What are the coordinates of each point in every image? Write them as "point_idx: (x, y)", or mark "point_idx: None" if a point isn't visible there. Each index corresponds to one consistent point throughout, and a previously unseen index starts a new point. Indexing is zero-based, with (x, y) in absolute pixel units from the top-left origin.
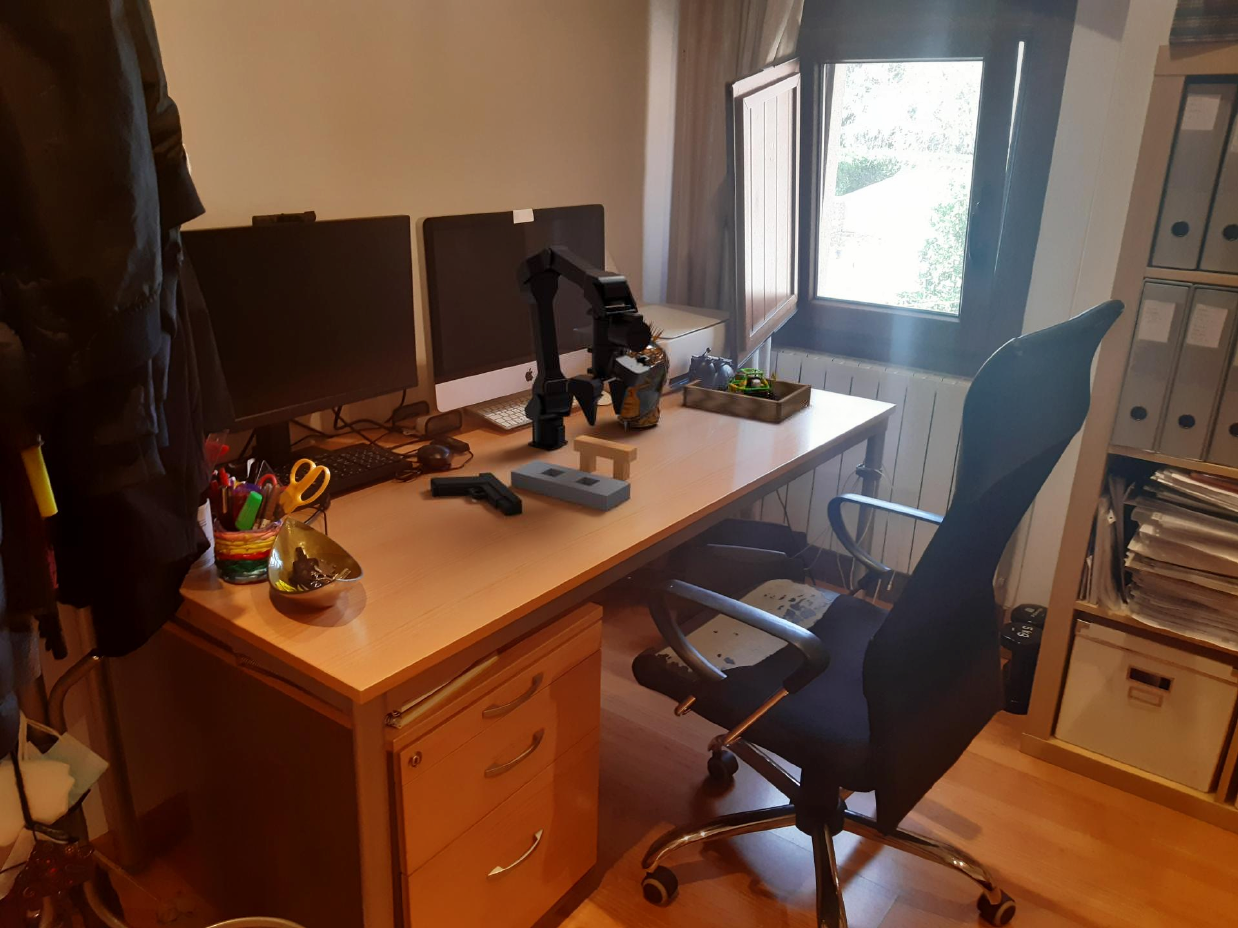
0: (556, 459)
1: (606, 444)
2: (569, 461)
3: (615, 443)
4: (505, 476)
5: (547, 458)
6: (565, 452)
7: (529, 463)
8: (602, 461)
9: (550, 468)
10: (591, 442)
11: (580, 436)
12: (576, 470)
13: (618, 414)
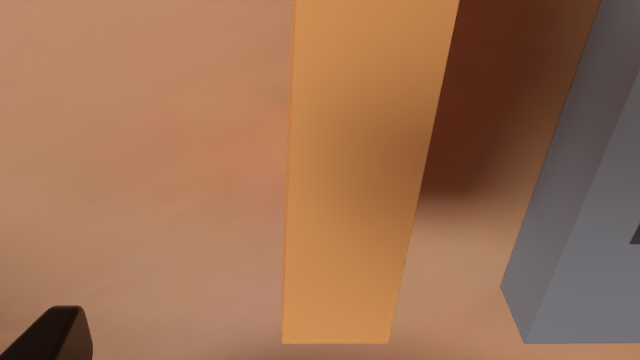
0: (280, 315)
1: (388, 121)
2: (268, 267)
3: (317, 70)
4: (571, 347)
5: None
6: (172, 331)
7: (589, 339)
8: (152, 149)
9: (632, 243)
10: (402, 232)
11: (317, 338)
12: (630, 119)
13: (82, 319)
